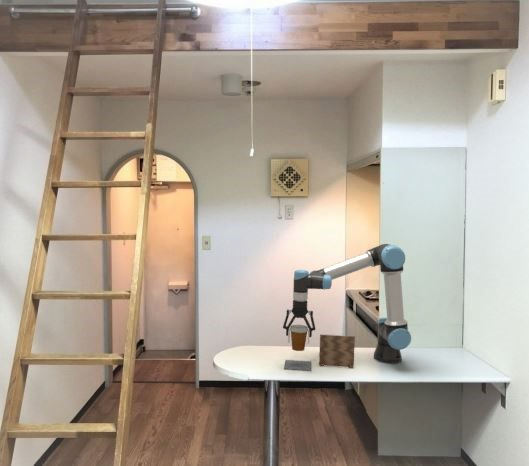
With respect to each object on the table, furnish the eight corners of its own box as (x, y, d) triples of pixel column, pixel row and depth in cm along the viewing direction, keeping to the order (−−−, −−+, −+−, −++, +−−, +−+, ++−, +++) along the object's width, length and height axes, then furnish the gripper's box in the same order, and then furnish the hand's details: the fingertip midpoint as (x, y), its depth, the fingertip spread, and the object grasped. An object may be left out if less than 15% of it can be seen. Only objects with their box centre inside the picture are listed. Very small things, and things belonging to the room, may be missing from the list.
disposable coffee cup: (306, 352, 248) (307, 329, 247) (287, 351, 250) (288, 328, 249) (308, 347, 257) (309, 325, 257) (290, 346, 259) (291, 323, 259)
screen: (353, 365, 258) (354, 335, 257) (353, 368, 253) (355, 337, 252) (318, 363, 260) (320, 333, 259) (319, 366, 255) (320, 336, 254)
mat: (311, 362, 260) (311, 361, 260) (311, 371, 247) (311, 369, 246) (285, 360, 262) (285, 359, 262) (283, 369, 248) (283, 368, 248)
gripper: (321, 299, 255) (319, 342, 256) (279, 297, 257) (277, 339, 258) (321, 302, 248) (320, 345, 249) (278, 300, 250) (276, 343, 251)
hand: (298, 342), depth 254 cm, fingers closed on disposable coffee cup, 9 cm apart
